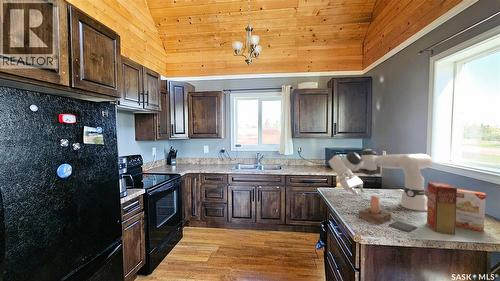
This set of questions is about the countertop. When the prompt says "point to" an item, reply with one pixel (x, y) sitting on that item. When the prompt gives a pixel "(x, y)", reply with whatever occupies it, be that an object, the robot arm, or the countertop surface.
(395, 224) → the rubber mat
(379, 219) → the pocket block
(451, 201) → the food packaging
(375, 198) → the peg
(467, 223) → the cracker box
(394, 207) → the countertop surface
